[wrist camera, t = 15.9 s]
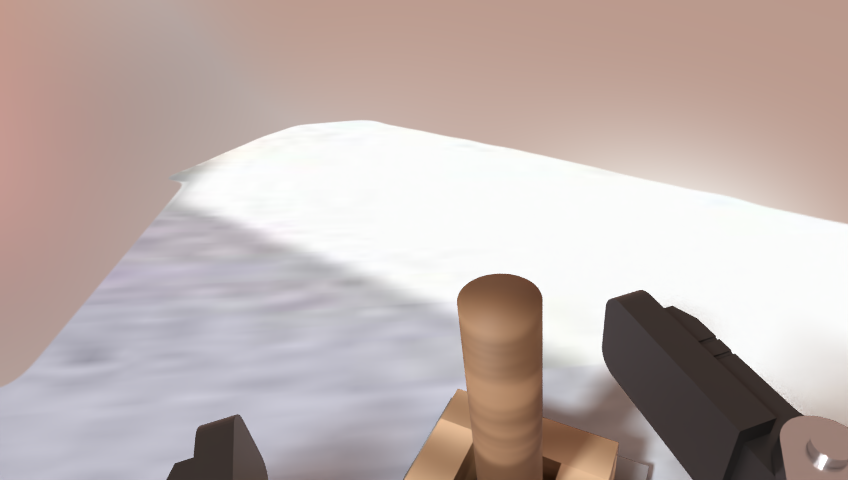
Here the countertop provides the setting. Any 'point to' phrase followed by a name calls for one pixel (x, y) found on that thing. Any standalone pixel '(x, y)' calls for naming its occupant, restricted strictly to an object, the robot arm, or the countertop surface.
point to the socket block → (561, 451)
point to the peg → (503, 374)
